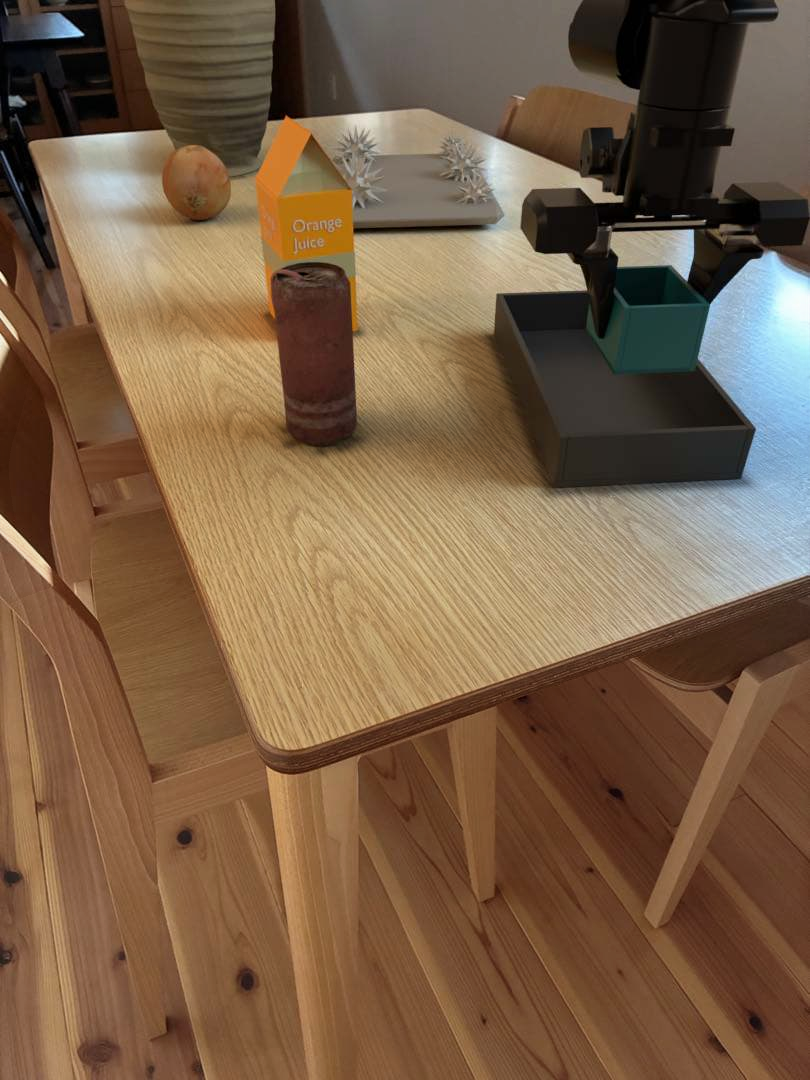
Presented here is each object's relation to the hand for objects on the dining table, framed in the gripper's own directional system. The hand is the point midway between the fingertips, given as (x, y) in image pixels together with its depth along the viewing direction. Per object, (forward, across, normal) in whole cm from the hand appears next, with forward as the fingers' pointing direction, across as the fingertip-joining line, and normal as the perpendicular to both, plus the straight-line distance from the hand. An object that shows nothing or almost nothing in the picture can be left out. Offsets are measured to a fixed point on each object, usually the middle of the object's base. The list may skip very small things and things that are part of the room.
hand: (641, 334), depth 61 cm
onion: (+11, +43, -70) cm, 83 cm away
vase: (+11, +42, -102) cm, 111 cm away
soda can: (+11, +25, -6) cm, 28 cm away
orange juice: (+11, +26, -30) cm, 41 cm away
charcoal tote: (+11, -1, -10) cm, 15 cm away
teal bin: (+1, 0, 0) cm, 1 cm away
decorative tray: (+11, +12, -77) cm, 79 cm away
